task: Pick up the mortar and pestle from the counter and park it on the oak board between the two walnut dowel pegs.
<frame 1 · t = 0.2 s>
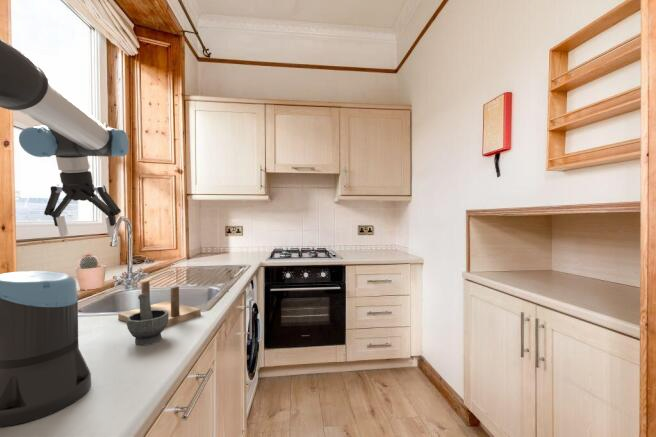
hand: (88, 235, 100), 28 cm above the counter, tool tilted 20°, fingers open, 13 cm apart
peg board: (160, 317, 101), on the counter
mortar and pestle: (148, 340, 83), on the counter
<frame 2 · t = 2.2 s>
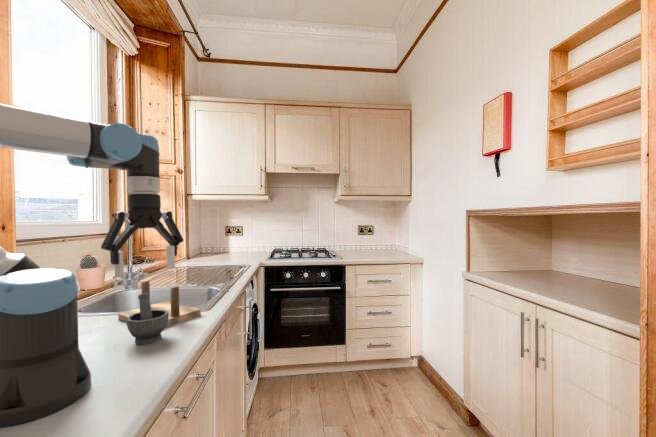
hand: (147, 272, 83), 18 cm above the counter, tool pointing down, fingers open, 13 cm apart
nothing on the counter moved.
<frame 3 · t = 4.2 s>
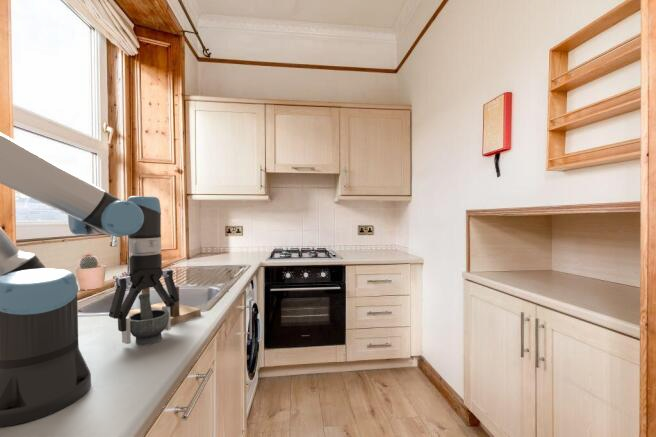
hand: (147, 335, 83), 1 cm above the counter, tool pointing down, fingers closed on mortar and pestle, 10 cm apart
mortar and pestle: (148, 340, 83), on the counter, touching gripper
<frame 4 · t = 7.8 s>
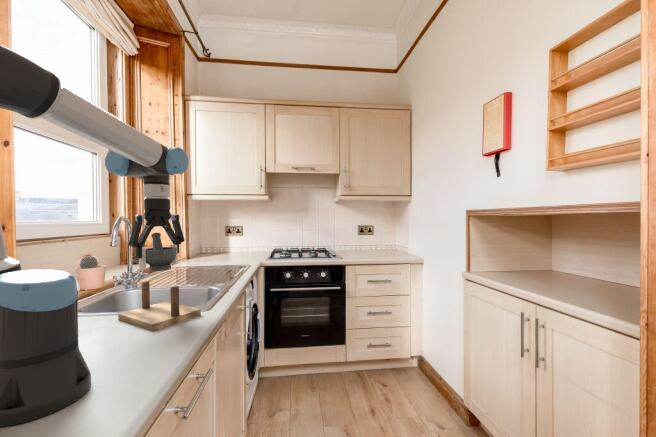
hand: (159, 265, 101), 17 cm above the counter, tool pointing down, fingers closed on mortar and pestle, 10 cm apart
mortar and pestle: (159, 269, 101), point 16 cm above the counter, touching gripper
when the fingers open (5 cm above the counter, at t = 10.9 s): mortar and pestle drops 1 cm, resting on peg board.
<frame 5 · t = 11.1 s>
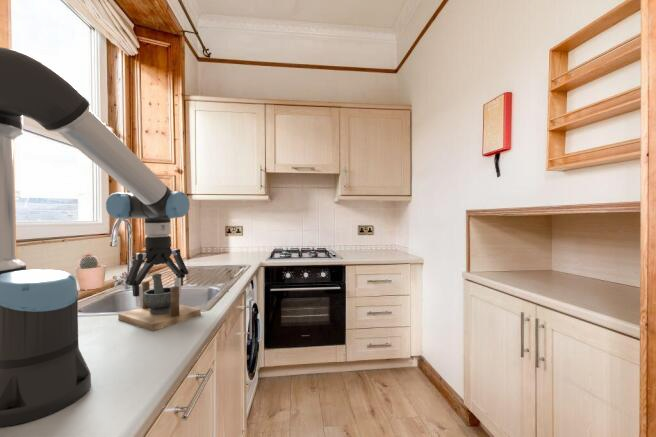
hand: (159, 301, 101), 5 cm above the counter, tool pointing down, fingers open, 12 cm apart
mortar and pestle: (160, 311, 101), point 2 cm above the counter, touching peg board
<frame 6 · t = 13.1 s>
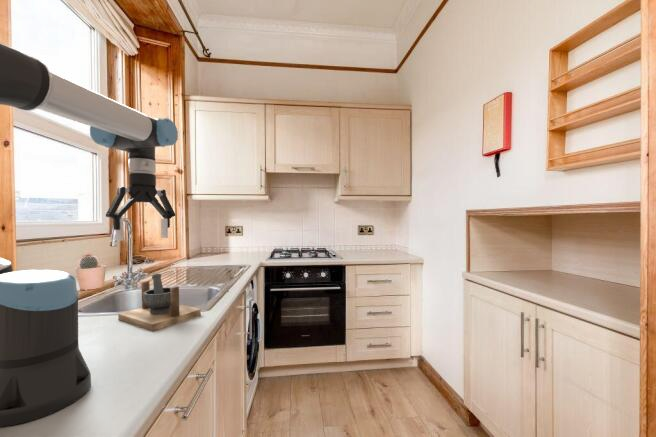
hand: (143, 239, 99), 26 cm above the counter, tool pointing down, fingers open, 13 cm apart
nothing on the counter moved.
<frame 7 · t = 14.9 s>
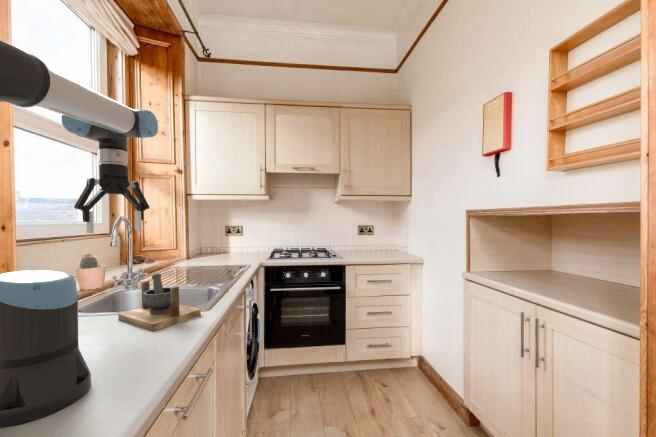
hand: (115, 231, 97), 29 cm above the counter, tool pointing down, fingers open, 13 cm apart
nothing on the counter moved.
at the end: mortar and pestle inside the target area on the peg board (0.1 cm from its centre), point 1.8 cm above the peg board's base; mortar and pestle tilted 0°; the gripper is holding nothing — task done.
